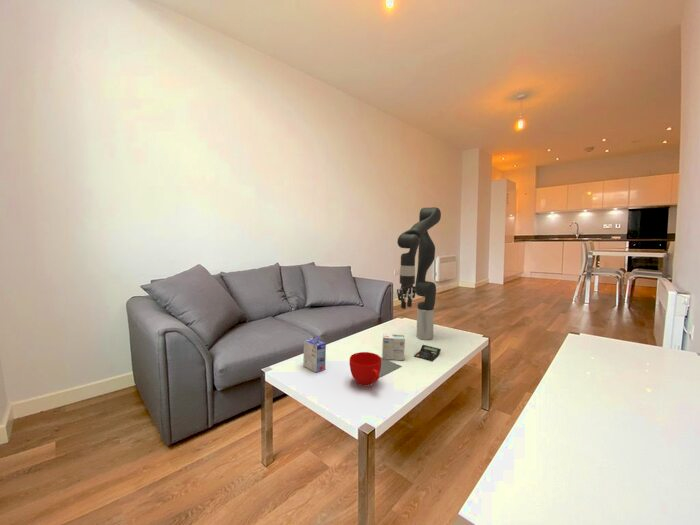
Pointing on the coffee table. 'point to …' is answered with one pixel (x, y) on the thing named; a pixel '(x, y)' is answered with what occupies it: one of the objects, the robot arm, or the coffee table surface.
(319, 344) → the ink cartridge box
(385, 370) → the mat
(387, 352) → the light bulb box
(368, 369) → the ceramic cup
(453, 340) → the coffee table surface
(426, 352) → the calculator
